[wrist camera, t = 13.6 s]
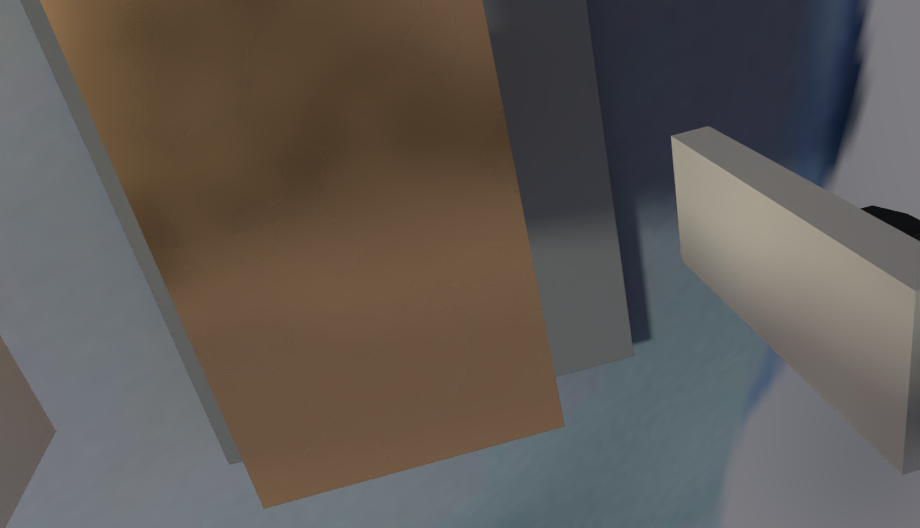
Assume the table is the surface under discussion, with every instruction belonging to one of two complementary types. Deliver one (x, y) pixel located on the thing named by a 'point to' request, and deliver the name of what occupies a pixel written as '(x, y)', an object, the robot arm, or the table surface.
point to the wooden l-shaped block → (327, 222)
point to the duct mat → (537, 170)
